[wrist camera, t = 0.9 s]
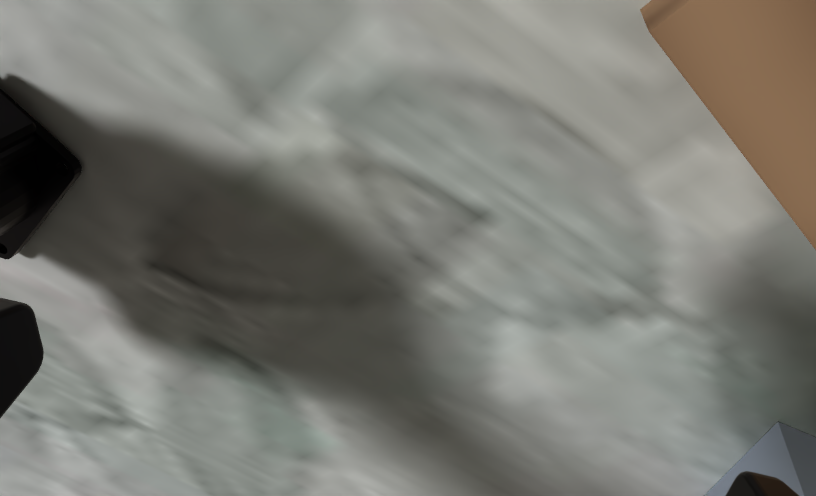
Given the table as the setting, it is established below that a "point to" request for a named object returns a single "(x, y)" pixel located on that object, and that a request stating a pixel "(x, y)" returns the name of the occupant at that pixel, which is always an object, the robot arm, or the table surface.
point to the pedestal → (753, 84)
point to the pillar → (778, 461)
